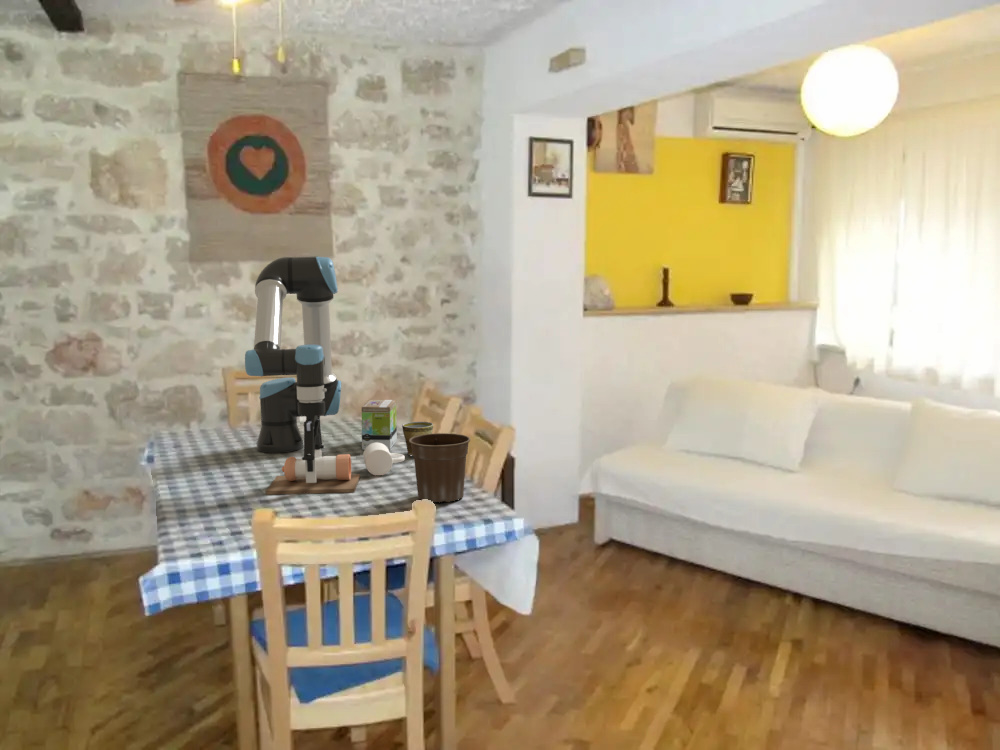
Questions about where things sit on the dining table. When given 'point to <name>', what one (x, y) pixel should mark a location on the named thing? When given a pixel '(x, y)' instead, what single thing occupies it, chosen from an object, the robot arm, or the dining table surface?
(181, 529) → the dining table surface
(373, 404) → the tea box
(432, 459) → the plant pot
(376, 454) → the mug
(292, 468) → the pepper shaker
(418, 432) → the ceramic cup
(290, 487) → the walnut board
